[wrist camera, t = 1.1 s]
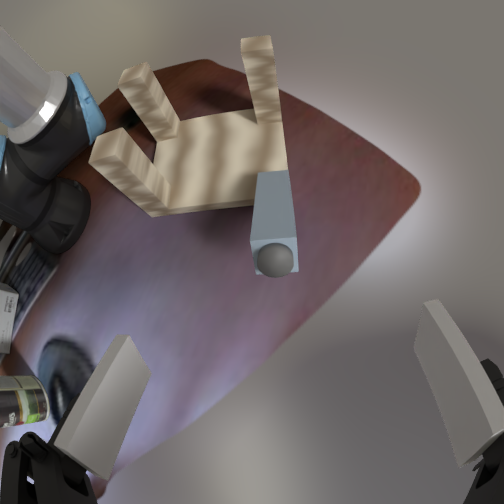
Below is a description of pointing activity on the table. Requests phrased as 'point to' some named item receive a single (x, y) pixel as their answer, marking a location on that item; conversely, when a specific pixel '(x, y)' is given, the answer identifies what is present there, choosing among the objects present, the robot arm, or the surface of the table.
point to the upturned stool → (197, 143)
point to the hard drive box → (7, 316)
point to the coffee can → (22, 401)
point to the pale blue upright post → (274, 226)
